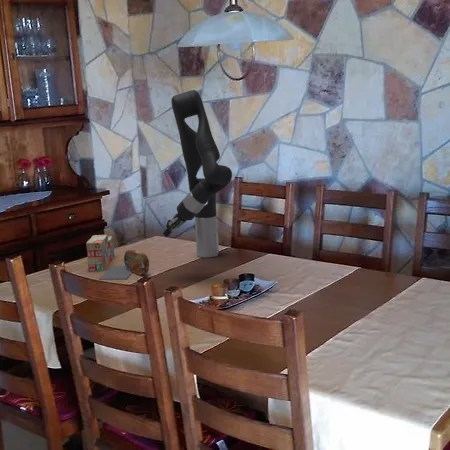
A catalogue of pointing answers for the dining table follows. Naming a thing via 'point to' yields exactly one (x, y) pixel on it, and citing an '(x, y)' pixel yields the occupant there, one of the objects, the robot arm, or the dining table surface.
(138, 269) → the tin
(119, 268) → the mat
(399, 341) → the dining table surface
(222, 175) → the robot arm
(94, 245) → the stack of blocks
